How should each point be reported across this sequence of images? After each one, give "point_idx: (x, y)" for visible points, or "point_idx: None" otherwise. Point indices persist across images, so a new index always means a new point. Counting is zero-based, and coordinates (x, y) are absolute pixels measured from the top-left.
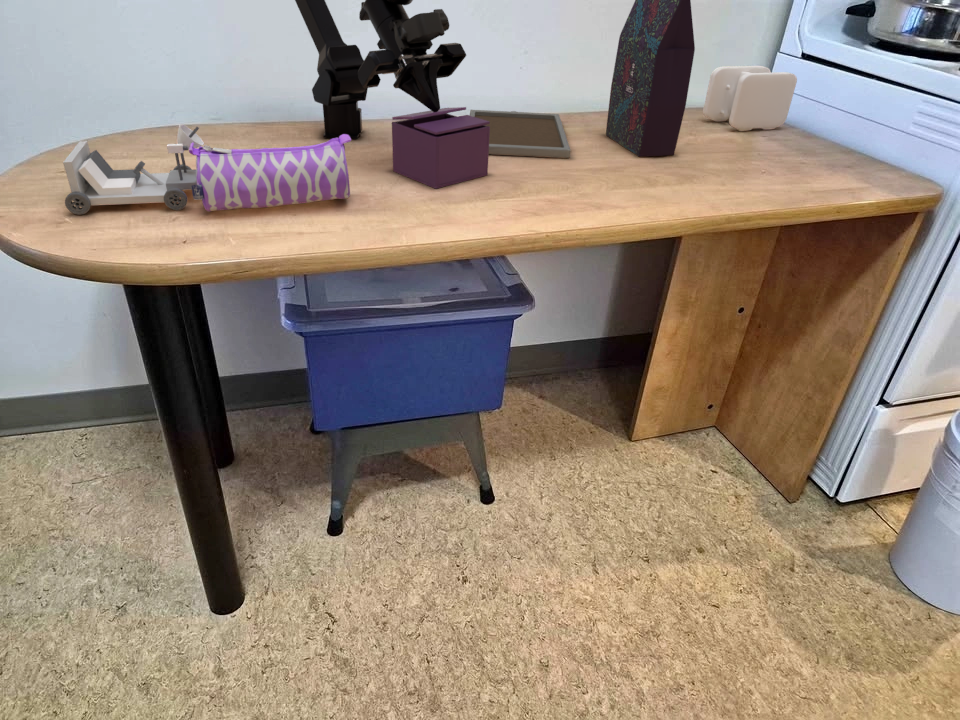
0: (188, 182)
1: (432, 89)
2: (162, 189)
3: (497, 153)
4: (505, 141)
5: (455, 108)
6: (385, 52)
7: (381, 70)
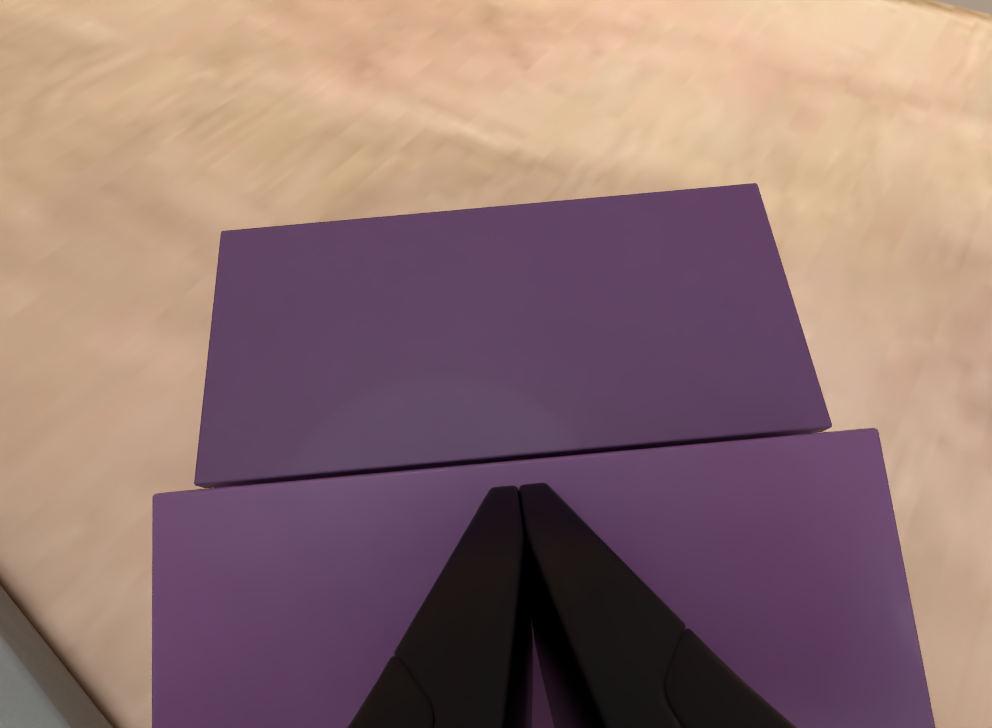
0: None
1: (513, 634)
2: None
3: (21, 614)
4: None
5: (256, 541)
6: None
7: None
